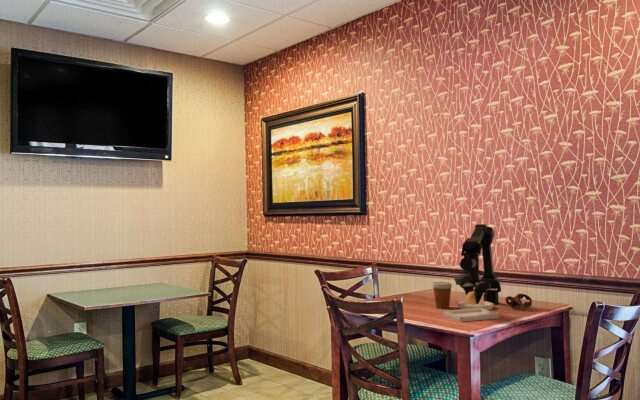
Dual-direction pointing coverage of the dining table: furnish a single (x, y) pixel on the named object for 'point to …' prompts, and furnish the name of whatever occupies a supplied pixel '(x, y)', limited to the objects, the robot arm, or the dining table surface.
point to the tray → (471, 314)
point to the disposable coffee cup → (442, 294)
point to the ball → (471, 298)
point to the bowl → (481, 304)
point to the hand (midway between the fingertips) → (473, 302)
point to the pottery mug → (519, 301)
